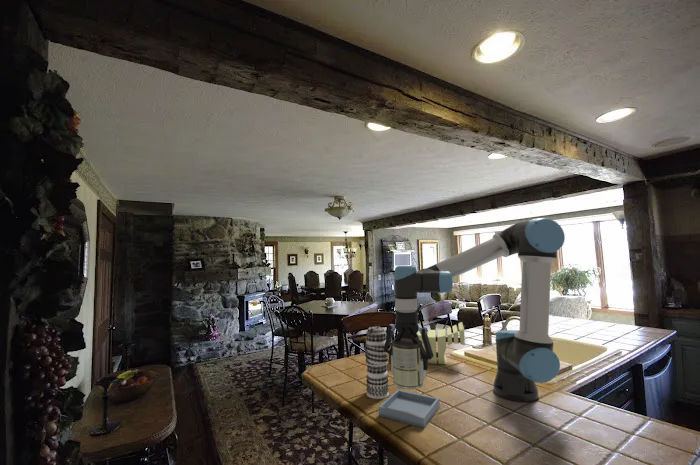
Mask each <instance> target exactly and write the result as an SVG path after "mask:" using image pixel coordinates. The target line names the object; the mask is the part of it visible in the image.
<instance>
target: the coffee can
mask: <svg viewBox="0 0 700 465" xmlns="http://www.w3.org/2000/svg"><path fill="white" fill-rule="evenodd" d="M394 340H395V338H394V339H392V341H391V346H392V349H393V375H392V376H393V377H392V378H393V382H392V383H393V385H394V386H395V387H397V388H398V389H401V390H402V389H403V390H418V389H421V388H423V386H424V381H421V364H420V360H421V359H422V357H421V355H420V347H421V346H422V341H421V340H420V343H419V344H414V342H413V341H412V340H411V339H408V338H401V340H400V341H394Z"/></svg>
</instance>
